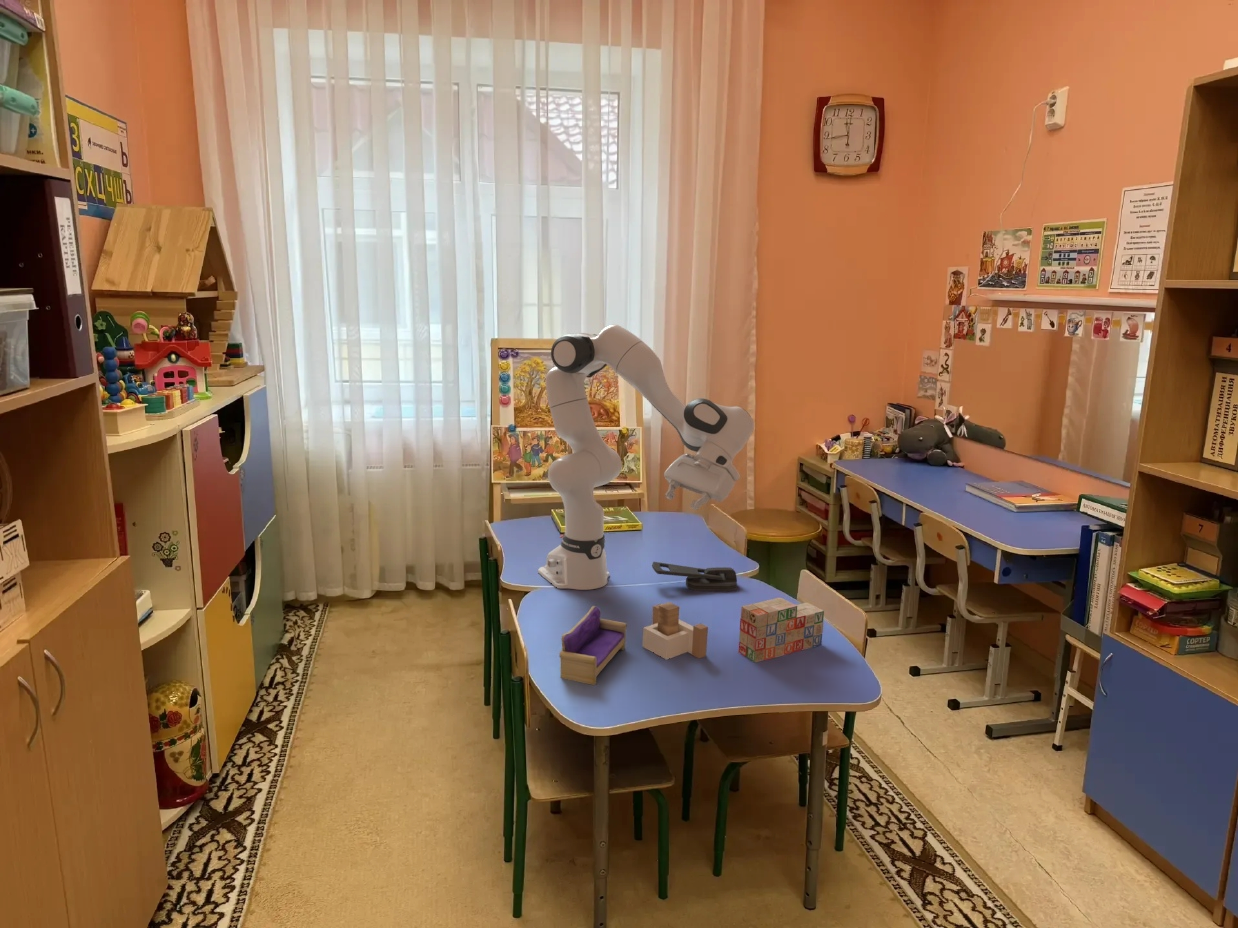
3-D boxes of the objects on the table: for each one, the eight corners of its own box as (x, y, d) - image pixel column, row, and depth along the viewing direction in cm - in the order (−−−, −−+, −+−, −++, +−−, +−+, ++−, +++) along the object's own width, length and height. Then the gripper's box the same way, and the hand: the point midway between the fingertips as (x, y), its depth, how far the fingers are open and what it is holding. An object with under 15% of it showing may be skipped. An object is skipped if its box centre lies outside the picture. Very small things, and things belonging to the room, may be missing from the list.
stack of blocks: (804, 635, 211) (808, 590, 209) (821, 645, 206) (826, 599, 203) (737, 652, 201) (740, 605, 198) (754, 663, 196) (757, 614, 193)
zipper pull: (650, 560, 243) (732, 558, 247) (649, 581, 245) (731, 579, 248) (656, 571, 234) (741, 569, 238) (654, 593, 236) (740, 591, 240)
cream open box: (631, 640, 205) (632, 612, 203) (658, 631, 211) (660, 603, 209) (678, 666, 193) (680, 636, 191) (706, 655, 198) (707, 626, 197)
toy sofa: (594, 687, 182) (595, 644, 180) (558, 679, 185) (558, 636, 183) (627, 648, 201) (628, 609, 199) (593, 642, 204) (595, 603, 202)
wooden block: (655, 647, 202) (657, 605, 199) (667, 643, 204) (669, 601, 202) (666, 653, 199) (668, 610, 196) (678, 649, 201) (680, 606, 199)
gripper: (678, 445, 220) (647, 485, 216) (734, 463, 205) (703, 506, 201) (688, 459, 224) (659, 499, 220) (745, 478, 209) (714, 521, 205)
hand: (680, 502), depth 210 cm, fingers open, 8 cm apart
